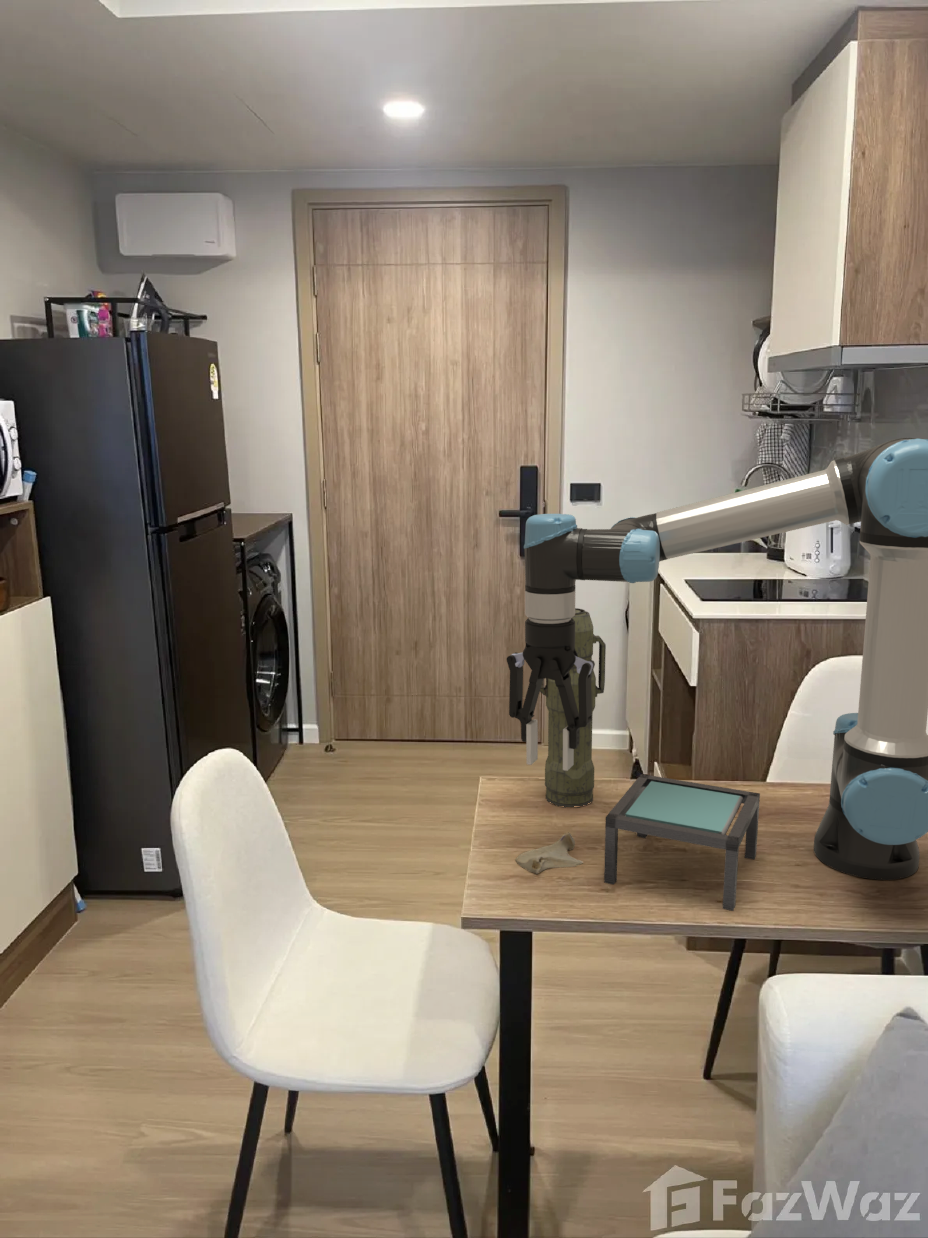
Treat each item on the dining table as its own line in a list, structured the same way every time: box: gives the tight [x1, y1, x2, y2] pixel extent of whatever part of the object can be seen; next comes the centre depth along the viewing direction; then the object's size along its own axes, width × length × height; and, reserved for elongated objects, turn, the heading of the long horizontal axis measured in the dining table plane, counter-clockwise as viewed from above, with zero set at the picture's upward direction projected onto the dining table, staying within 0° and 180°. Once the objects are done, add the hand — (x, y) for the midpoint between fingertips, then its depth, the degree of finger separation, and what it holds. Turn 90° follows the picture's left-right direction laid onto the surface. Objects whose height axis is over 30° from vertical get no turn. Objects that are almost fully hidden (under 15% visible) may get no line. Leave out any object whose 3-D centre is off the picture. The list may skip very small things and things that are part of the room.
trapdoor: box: [625, 781, 743, 835], centre depth 139 cm, size 14×14×1 cm
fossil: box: [514, 832, 584, 875], centre depth 144 cm, size 7×11×3 cm, turn 117°
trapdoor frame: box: [603, 773, 761, 912], centre depth 140 cm, size 19×19×10 cm
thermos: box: [539, 607, 607, 808], centre depth 164 cm, size 9×12×35 cm
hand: (550, 764), depth 143 cm, fingers open, 5 cm apart
